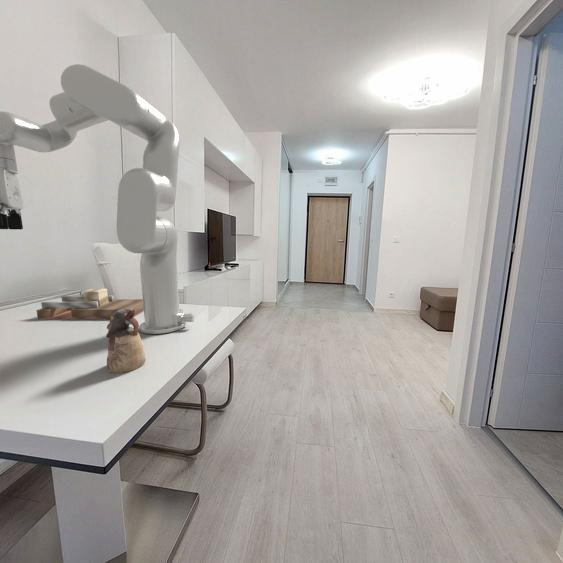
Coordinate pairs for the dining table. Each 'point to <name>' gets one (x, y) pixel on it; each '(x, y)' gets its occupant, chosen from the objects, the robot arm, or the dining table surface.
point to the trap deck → (87, 308)
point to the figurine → (124, 343)
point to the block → (96, 296)
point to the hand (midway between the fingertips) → (8, 229)
